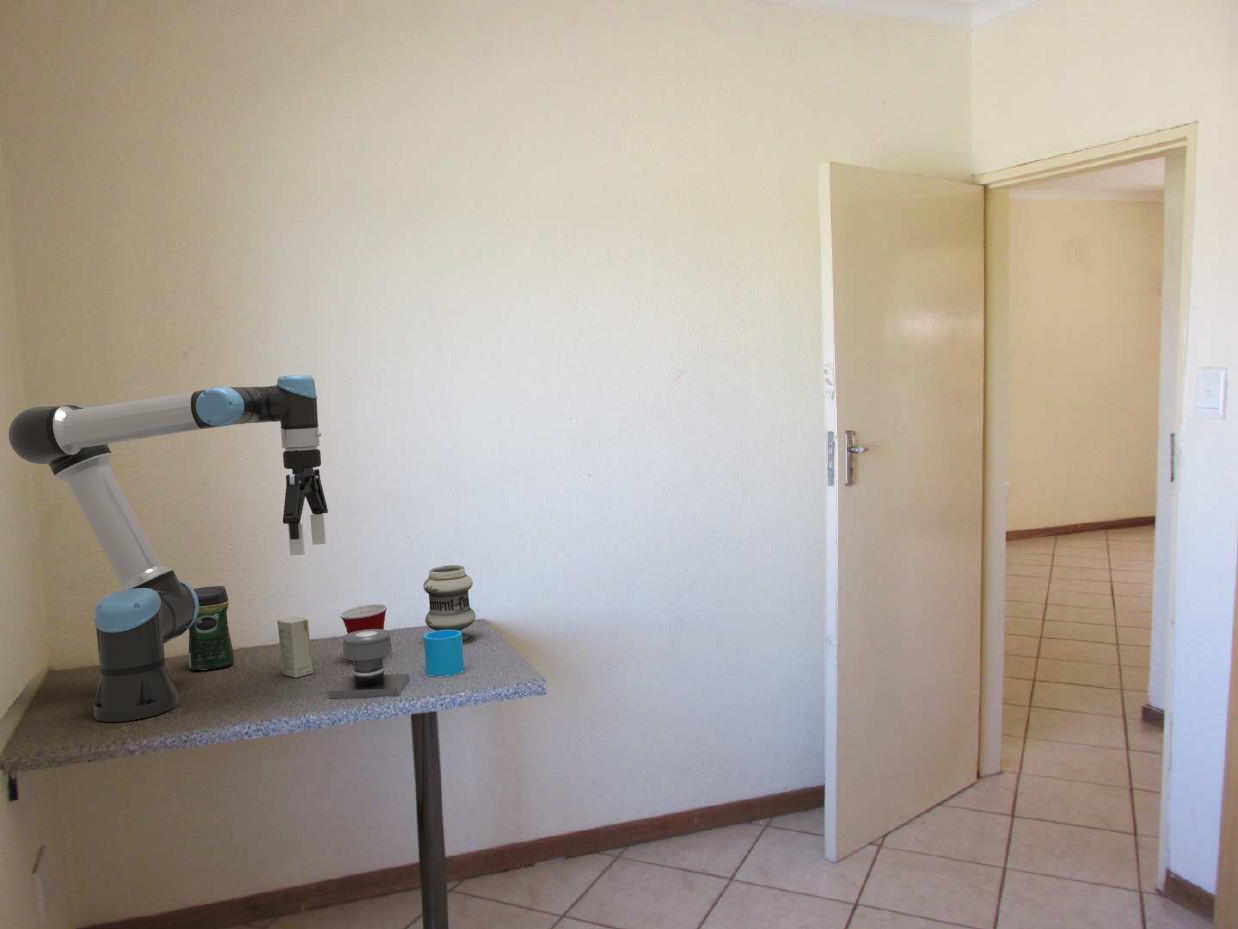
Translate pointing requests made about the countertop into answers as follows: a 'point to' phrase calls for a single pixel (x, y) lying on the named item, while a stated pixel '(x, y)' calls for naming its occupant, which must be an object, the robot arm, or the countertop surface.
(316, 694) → the countertop surface
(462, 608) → the apothecary jar
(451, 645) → the mug
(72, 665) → the countertop surface
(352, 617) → the plastic cup
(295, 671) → the skincare box
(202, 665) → the coffee jar
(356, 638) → the cap
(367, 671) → the gray flat-based fixture
